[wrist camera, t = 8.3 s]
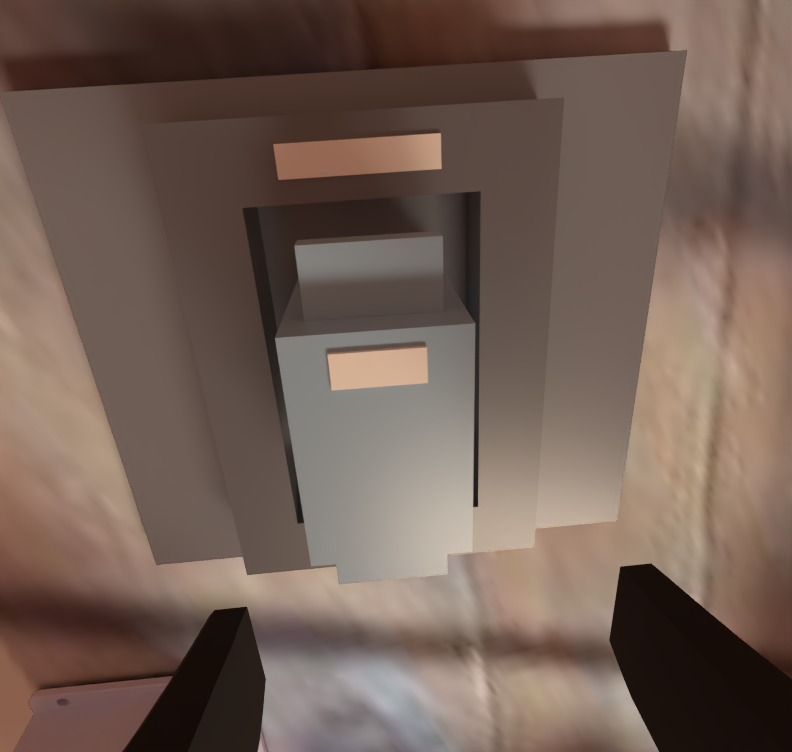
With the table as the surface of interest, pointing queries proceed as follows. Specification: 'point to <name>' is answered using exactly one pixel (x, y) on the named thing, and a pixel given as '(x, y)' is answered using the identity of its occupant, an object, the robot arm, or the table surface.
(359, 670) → the table surface
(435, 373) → the block
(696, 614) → the robot arm
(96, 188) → the chassis
